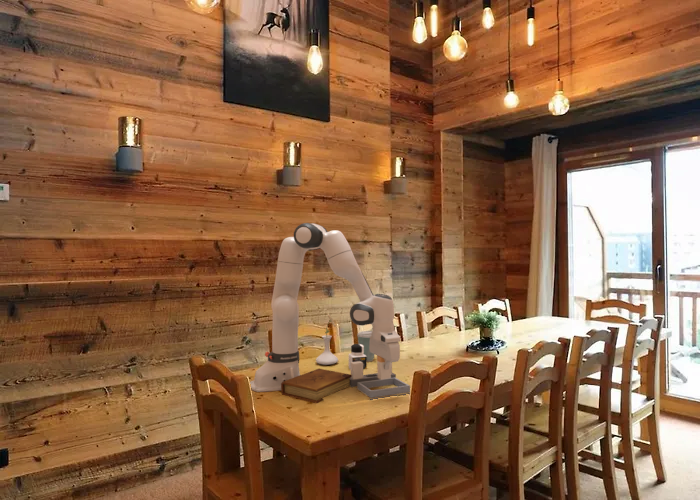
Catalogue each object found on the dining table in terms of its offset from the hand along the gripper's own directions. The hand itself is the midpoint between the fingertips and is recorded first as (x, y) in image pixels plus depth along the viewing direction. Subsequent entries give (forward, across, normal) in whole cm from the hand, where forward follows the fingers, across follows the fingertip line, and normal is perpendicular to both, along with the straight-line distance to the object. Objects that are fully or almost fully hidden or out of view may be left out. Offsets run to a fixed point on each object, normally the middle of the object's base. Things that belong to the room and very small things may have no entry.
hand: (383, 368), depth 198 cm
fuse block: (+10, -13, +1) cm, 16 cm away
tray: (+10, 0, 0) cm, 10 cm away
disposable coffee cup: (+10, -50, +17) cm, 54 cm away
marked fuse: (+4, 0, 0) cm, 4 cm away
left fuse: (+9, -13, -6) cm, 17 cm away
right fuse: (+9, -13, +8) cm, 18 cm away
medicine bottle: (+10, -36, +5) cm, 38 cm away
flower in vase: (+10, -54, -4) cm, 55 cm away
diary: (+10, -14, -24) cm, 29 cm away
